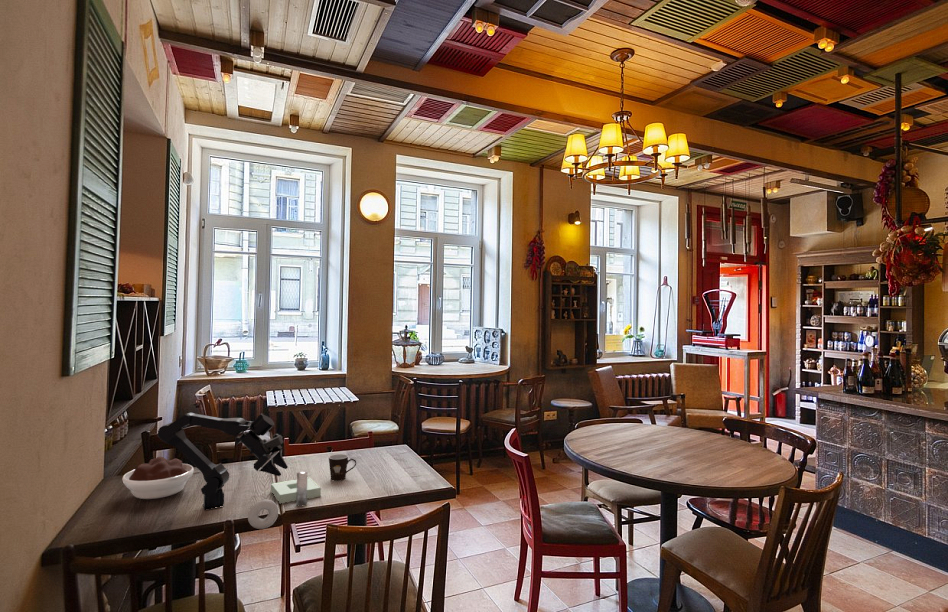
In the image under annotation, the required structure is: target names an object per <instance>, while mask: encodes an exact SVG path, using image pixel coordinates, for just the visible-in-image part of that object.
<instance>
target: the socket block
mask: <svg viewBox="0 0 948 612" xmlns="http://www.w3.org/2000/svg"><path fill="white" fill-rule="evenodd" d="M321 489H322V488H321V486H320V485H319V484H317V483H316V482H315V481H314V480H313V479H312V478H311V477H308V476H307V498H309V499H313V498H317V497H321V496H322V495H321V494H322V493H321ZM296 491H297V478H296V479H291V480H285V481H280V482H275V483H271V485H270V492H272V493H273V494H274V495H273V494H272V493H271V494H272V495H273V497H274V496H275V497H276V498H277V499H276V498H275V497H274V498H275V499H276V500H277V502H278V501H279V502H278V504H280V505H281V503H282V504H286V503H285V502H287V503H290V502H289V501H293V502H296V501H295V500H296Z"/></svg>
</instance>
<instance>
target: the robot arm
mask: <svg viewBox="0 0 948 612" xmlns="http://www.w3.org/2000/svg"><path fill="white" fill-rule="evenodd" d="M189 425H190V426H195V427H202V428H208V429H214V430H218V431H221V432H222V433H224V434H226V435H230V436H235V441H234V442H235V443H234V444H235V445H236V446H237V445H238V444H239V445H240V443H241V444H243V445H244V446H245V447H246V448H247V449H248V450H249V454H250V455H254V456H255V457H256V458H257V460H256V461H255V463H253V469H254V470H255V471H256V472H258V471H259V472H263V473H267V474H271V475H273V476H277V477H280V476H282V472H280V470H279V469H278V468H277V466H278V467H280V468H282V469H285V470H287V469H288V468H289V467H288V464H287V463H286V461H285V459H284V457H283V454H282V453H283V446H282V444H284V440H283V438H284V437H283V436H282V434H279V433H275V434H273V435H272V438H271V439H269V440H267V439H265V438H264V439H262V438H261V437H260V436H265V435H266V434H267V433H268V432H269V431H270V430H271V429H272V428H273V427H274V426H275V421H274V420H273V419H272V417H270V416H267V415H266V414H264V413H260V414H259V415H258V416H257V418H256V419H255V420H253V421H251V420H246V419H245V418H243V417H231V418H221V417H216V416H209V415H204V414H198V413H194V412H188V413H185V414H183V415H182V416H181V417H179V418H178V419H176V420H174V421H173V422H169V423H167V424H164V425H162V426H160V427H159V428H158V430H157V437H158V439H160V440H161V441H162V442H164V443H165V444H167V445H170V446H172V447H175V448H176V449H177V450H178V451H179V452H180V453H181V454H182V455H183V456H185V458H187V459H188V460H189V462H190V463H191V464H193V465H194V467H195V468H197V469H198V470H199V471H200V472H201V473H202V474H201V475H202V476H203V479H204V481H205V485H203V487H201V488H200V491H201V494H202V495H203V504H202V508H203V507H204V508H203V510H204V511H207V510H206V509H209V510H212V509H211V508H215V507H220V506H223V507H224V504H225V492H224V491H223V488H224V487H225V484H226V483H227V482H228V481H229V480H230V473H229V471H228V470H229V469H228V468H227V467H225V466H224V464H223V463H222V462H220V463H218V464H215V463H213V462H212V461H211V460H210V459H209V458H208V457H207V456H205V454H204V453H203V452H201V451H200V450H199V449H198V448H197V447H196V446H195V444H193V443H192V442H191V441H190V440H189V438H187V436H186V433H185V430H184V429H185V428H186V427H187V426H189ZM249 429H250V430H249ZM241 433H242V434H241ZM240 434H241V435H240ZM235 445H234V446H235ZM220 508H221V507H220ZM215 509H216V508H215Z"/></svg>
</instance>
